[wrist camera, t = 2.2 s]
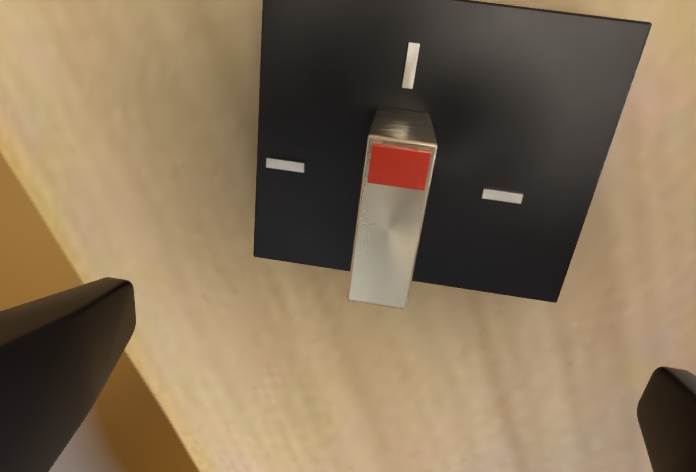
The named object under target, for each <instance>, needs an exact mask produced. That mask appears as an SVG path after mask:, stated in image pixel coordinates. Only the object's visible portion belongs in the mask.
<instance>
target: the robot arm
mask: <svg viewBox="0 0 696 472" xmlns="http://www.w3.org/2000/svg"><path fill="white" fill-rule="evenodd" d="M135 325H136V313H135V300H134V289H133V285H132V283H131V282H129V281H128V280H123V279H117V278H111V277H106V278H103V279H99V280H96V281H93V282H90V283H87V284H84V285H81V286H78V287H75V288H72V289H68V290H66V291H63V292H59V293H56V294H53V295H50V296H47V297H44V298H41V299H37V300H35V301H31V302H28V303H25V304H22V305H19V306H16V307H13V308H10V309H7V310H3V311H0V472H48V471H49V470H50V468H51V467H52V466H53V464H54V463H55V461H56V460H57V458H58V457H59V456H60V454H61V453H62V451H63V450H64V448H65V447H66V445H67V444H68V442H69V441H70V440H71V438H72V437H73V435H74V434H75V432H76V431H77V430H78V428H79V427H80V425H81V423H82V422H83V421H84V419H85V418H86V416H87V415H88V413H89V412H90V410H91V408H92V407H93V405H94V404H95V402H96V400H97V398H98V397H99V395H100V393H101V392H102V390H103V388H104V386H105V384H106V382H107V381H108V379H109V377H110V375H111V373H112V371H113V369H114V368H115V366H116V364H117V362H118V360H119V358H120V357H121V355H122V353H123V351H124V349H125V347H126V346H127V344H128V342H129V340H130V338H131V336H132V334H133V332H134V329H135ZM637 417H638V421H639V425H640V428H641V431H642V435H643V438H644V442H645V445H646V448H647V452H648V455H649V458H650V462H651V465H652V469H653V472H696V376H695V375H693V374H692V373H690V372H688V371H686V370H682V369H676V368H669V367H659V368H657V369H656V370H655V371H654V372H653V374H652V376H651V378H650V380H649V382H648V384H647V386H646V388H645V390H644V392H643V394H642V396H641V398H640V400H639V403H638V407H637Z"/></svg>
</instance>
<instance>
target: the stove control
mask: <svg viewBox="0 0 696 472" xmlns="http://www.w3.org/2000/svg"><path fill="white" fill-rule="evenodd" d="M651 25H652V24H651V23H650V22H643V21H634V20H626V19H618V18H610V17H602V16H593V15H585V14H577V13H569V12H561V11H553V10H544V9H536V8H528V7H520V6H512V5H504V4H495V3H487V2H479V1H471V0H263V11H262V38H261V65H260V92H259V119H258V147H257V174H256V201H255V228H254V256H255V257H260V258H267V259H273V260H280V261H286V262H293V263H300V264H306V265H313V266H319V267H326V268H332V269H339V270H345V271H350V268H351V260H352V253H353V245H354V238H355V230H356V222H357V215H358V207H359V199H360V192H361V184H362V177H363V169H364V161H365V154H366V146H367V139H368V135H369V131H370V128H371V125H372V122H373V119H374V116H375V113H376V110H377V107H387V108H394V109H402V110H409V111H416V112H424V113H429V114H430V118H431V122H432V126H433V130H434V134H435V138H436V142H437V146H438V147H437V153H436V158H435V163H434V168H433V173H432V179H431V184H430V189H429V194H428V199H427V204H426V210H425V215H424V220H423V225H422V230H421V235H420V241H419V246H418V251H417V256H416V261H415V266H414V272H413V277H412V281H417V282H424V283H431V284H437V285H444V286H450V287H457V288H463V289H470V290H476V291H483V292H490V293H496V294H503V295H509V296H516V297H522V298H529V299H535V300H542V301H548V302H557V300H558V297H559V294H560V291H561V288H562V285H563V282H564V279H565V276H566V273H567V270H568V267H569V265H570V262H571V259H572V256H573V253H574V250H575V247H576V244H577V241H578V238H579V235H580V232H581V230H582V227H583V224H584V221H585V218H586V215H587V212H588V209H589V206H590V203H591V200H592V197H593V195H594V192H595V189H596V186H597V183H598V180H599V177H600V174H601V171H602V168H603V165H604V162H605V160H606V157H607V154H608V151H609V148H610V145H611V142H612V139H613V136H614V133H615V130H616V127H617V125H618V122H619V119H620V116H621V113H622V110H623V107H624V104H625V101H626V98H627V95H628V92H629V90H630V87H631V84H632V81H633V78H634V75H635V72H636V69H637V66H638V63H639V60H640V57H641V55H642V52H643V49H644V46H645V43H646V40H647V37H648V34H649V31H650V28H651Z"/></svg>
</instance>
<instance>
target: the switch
mask: <svg viewBox="0 0 696 472" xmlns="http://www.w3.org/2000/svg"><path fill="white" fill-rule="evenodd" d="M437 147H438V146H437V142H436V138H435V134H434V130H433V126H432V122H431V118H430V114H429V113H424V112H416V111H409V110H402V109H394V108H387V107H377V110H376V113H375V116H374V119H373V122H372V125H371V128H370V131H369V135H368V139H367V146H366V154H365V161H364V169H363V177H362V184H361V192H360V199H359V207H358V215H357V222H356V230H355V238H354V245H353V253H352V260H351V268H350V276H349V283H348V291H347V300H349V301H356V302H362V303H369V304H375V305H382V306H388V307H394V308H401V309H405V308H406V307H407V303H408V298H409V292H410V287H411V282H412V277H413V272H414V266H415V261H416V256H417V251H418V246H419V241H420V235H421V230H422V225H423V220H424V215H425V210H426V204H427V199H428V194H429V189H430V184H431V179H432V173H433V168H434V163H435V158H436V153H437Z"/></svg>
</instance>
